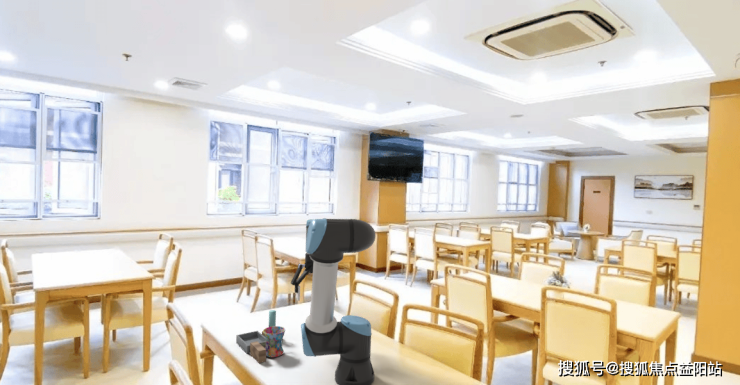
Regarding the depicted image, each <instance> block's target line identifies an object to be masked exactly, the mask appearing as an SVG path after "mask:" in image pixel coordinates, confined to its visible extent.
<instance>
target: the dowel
mask: <svg viewBox="0 0 740 385" xmlns="http://www.w3.org/2000/svg"><path fill="white" fill-rule="evenodd" d="M276 318H277V310H275V309H274V310H269V311H268V327H272V326H277V325H276V323H277V320H276Z"/></svg>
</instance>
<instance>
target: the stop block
mask: <svg viewBox="0 0 740 385" xmlns="http://www.w3.org/2000/svg"><path fill="white" fill-rule="evenodd" d="M249 355H250V356H251V357H252V358H253V359H254V360H255V361H256V362H257V363H258V364H261V363H265V362H266V361H267V360H266V359H267V356H266V349H265V348H264V347H263V346H262V345H261V344H260V343H258V342H257V341H256V342H252V343H250V353H249Z"/></svg>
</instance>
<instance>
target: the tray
mask: <svg viewBox="0 0 740 385" xmlns="http://www.w3.org/2000/svg"><path fill="white" fill-rule="evenodd" d="M235 338H236V341H235V343H236V344H237V345H238V347H240V348H241V349H242V351H243V352H244V353H245V354H246V355H248V354H249V355H250V343H252V342H256V341H257V342H258V343H260V344H261V345H262V346H263V347H264V348H265V347H266V339H265V337H264V336H263V335H262V332H259V330H254V331H250V332H245V333H240V334H236V337H235Z"/></svg>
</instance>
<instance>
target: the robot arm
mask: <svg viewBox="0 0 740 385" xmlns="http://www.w3.org/2000/svg"><path fill="white" fill-rule="evenodd" d="M375 240H376V230H375V228H374V227H373V226H372V225H371V224H370V223H368V222H366V221H365V220H361V219H356V218H350V219H349V218H325V217H324V218H315V219H314V218H313V219H308V220H306V224H305V255H304V256H305V259H304V260H305V261H304V263H298V264H297V269H296V270H295V273H294V275H293V277H292V279H291V281H290V284H291V286H294V293H295V295H296V298H295V300H296V301H300V299H301V285H300V284H301V283H302V282H303V280H304V279H305V278H306V277H307V275H309V274H312V282H311V294H310V295H311V297H310V312H309V315H308V316H307V317H306V319H305V322H303V323H301V325H300V328H301V330H300V331H301V340H302V342H301V343H302V350H303V354H304V356H306V357H319V356H320V357H321V356H331V355H332V356H333V355H339V360H338V364H337V367H336V369H335V372H334V381H335V383H336V385H372V384H373V383H374V381H375V371H374V367H373V364H372V359H371V351H372V350H371V349H372V348H371V347H372V334H373V333H372V324H371V322H370V320H368V319H367V318H364V317H362V316H358V315H352V314H351V315H343V316H341V319H340V321H338V320H337V318H336V317H335V316H334V314H335V303H336V294H337V293H336V292H337V281H338V272H339V271H338V270H339V263H341V262H342V261H343V260H344V254H353V253H354V254H355V253H360V252H364V251H366V250H368V249H369V248H370V247H371V248H372V246H373V245H374V243H375ZM303 269H304V270H303ZM302 270H303V272H302Z"/></svg>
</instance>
